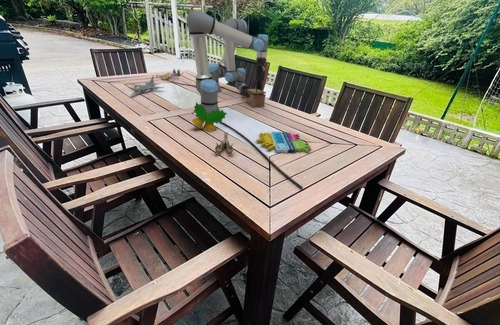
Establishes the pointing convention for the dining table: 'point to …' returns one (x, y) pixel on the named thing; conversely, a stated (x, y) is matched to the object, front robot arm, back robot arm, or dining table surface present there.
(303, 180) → the dining table surface
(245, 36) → the front robot arm
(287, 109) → the dining table surface
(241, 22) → the back robot arm
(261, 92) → the lid
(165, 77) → the toy
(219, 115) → the ornament
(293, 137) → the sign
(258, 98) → the chest
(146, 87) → the airplane
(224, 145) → the jawbone
